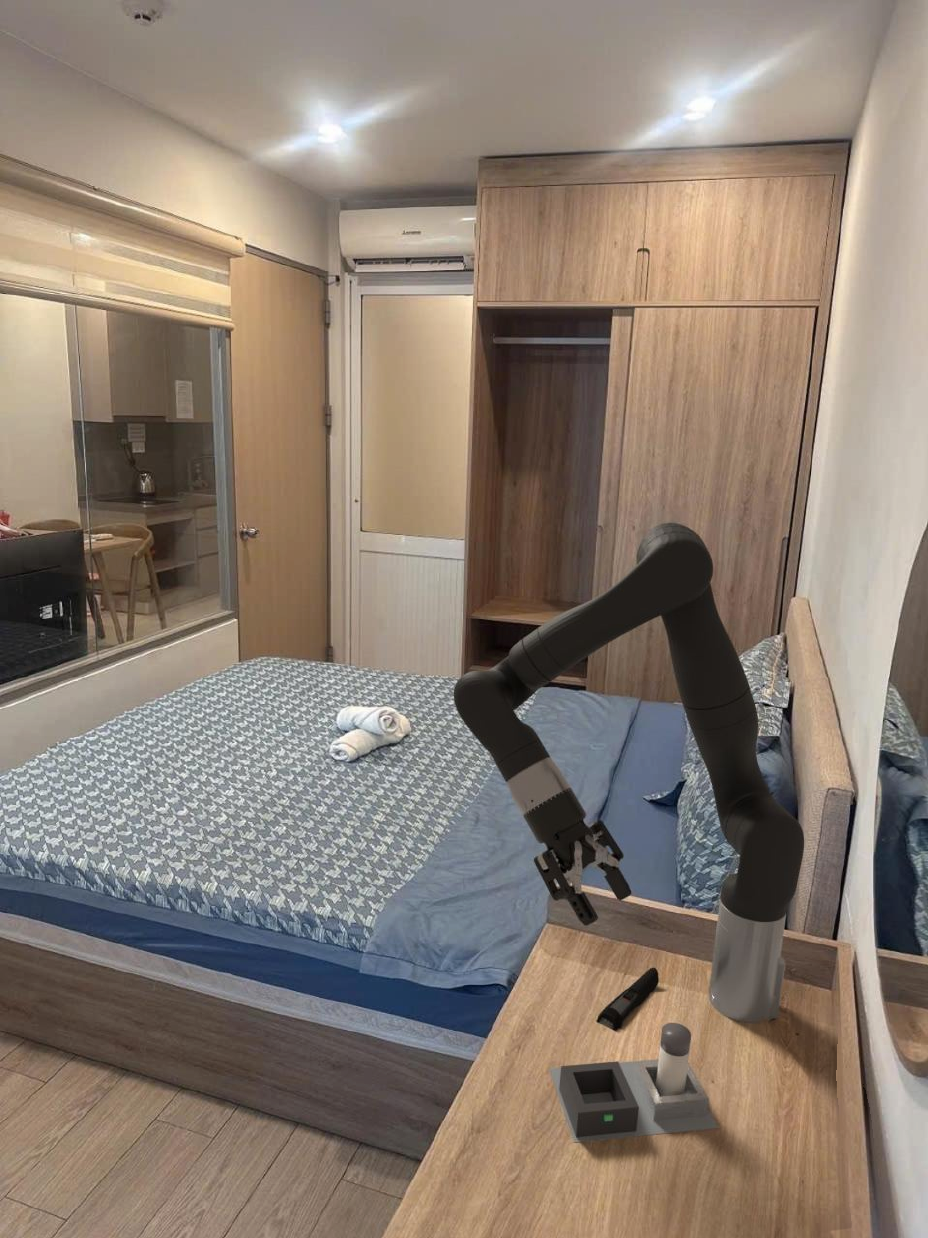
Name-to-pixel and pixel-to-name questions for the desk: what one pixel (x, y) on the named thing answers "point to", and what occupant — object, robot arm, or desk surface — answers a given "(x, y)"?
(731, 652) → the robot arm
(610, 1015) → the electric trimmer
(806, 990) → the desk surface
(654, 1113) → the square frame
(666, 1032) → the plug
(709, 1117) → the panel
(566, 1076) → the port
